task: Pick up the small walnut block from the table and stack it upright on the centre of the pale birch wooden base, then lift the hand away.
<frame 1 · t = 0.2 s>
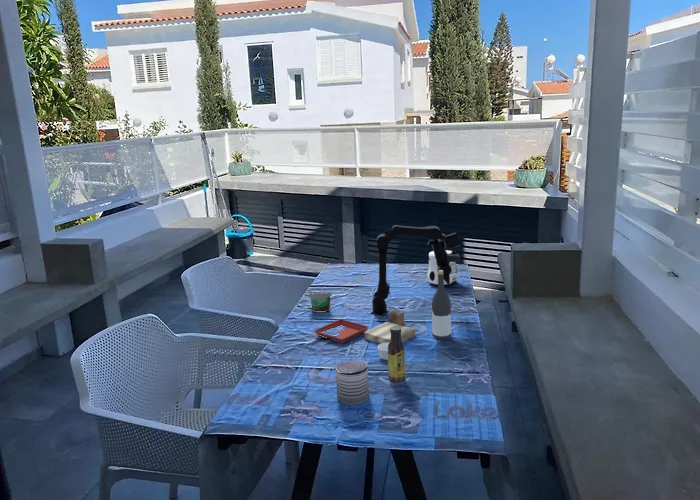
hand: (447, 281, 270), 15 cm above the table, tool pointing down, fingers open, 9 cm apart
walnut block: (396, 324, 259), on the table
can: (353, 397, 193), on the table
birch base: (389, 337, 244), on the table
wine bottle: (441, 336, 242), on the table
food container: (319, 311, 282), on the table
sauce bottle: (397, 379, 205), on the table
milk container: (442, 283, 318), on the table
plant saucer: (341, 335, 250), on the table
ramekin: (388, 356, 225), on the table
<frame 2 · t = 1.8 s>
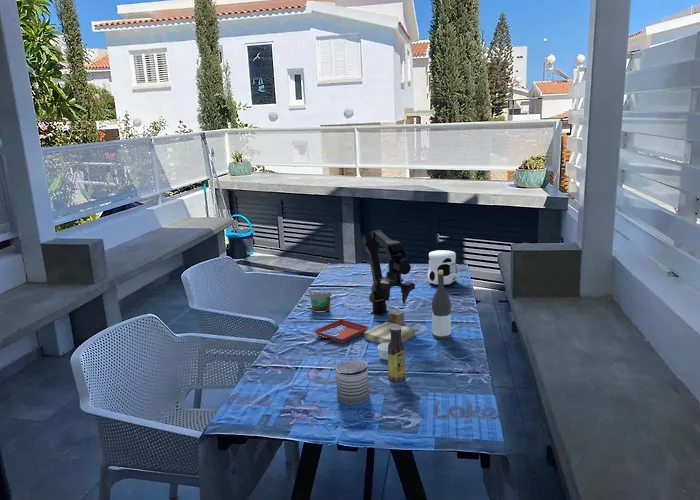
hand: (395, 301, 256), 11 cm above the table, tool pointing down, fingers open, 9 cm apart
nothing on the table moved.
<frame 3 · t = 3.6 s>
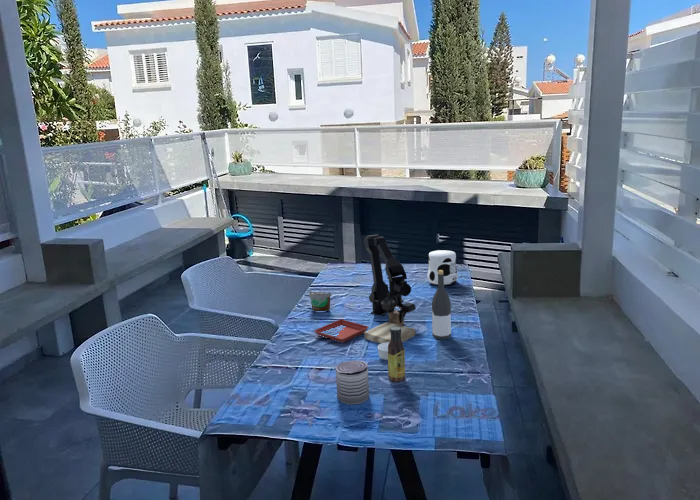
hand: (396, 322, 258), 1 cm above the table, tool pointing down, fingers closed on walnut block, 5 cm apart
walnut block: (396, 324, 259), on the table, touching gripper
everything else where it was.
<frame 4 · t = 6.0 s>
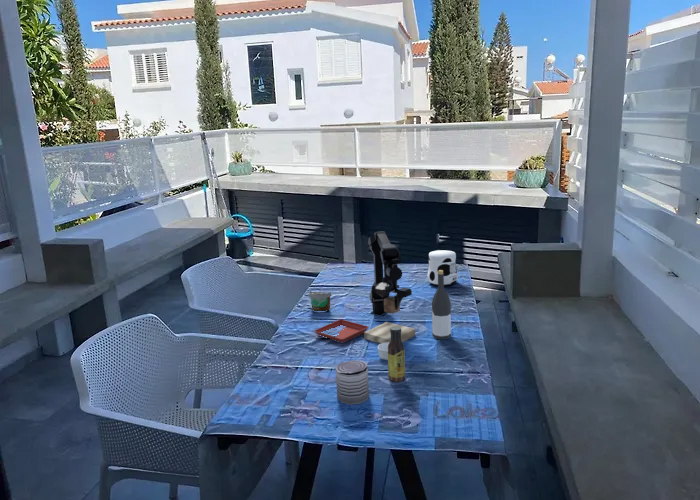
hand: (391, 308, 246), 12 cm above the table, tool pointing down, fingers closed on walnut block, 5 cm apart
walnut block: (392, 311, 246), point 10 cm above the table, touching gripper
everything else where it was.
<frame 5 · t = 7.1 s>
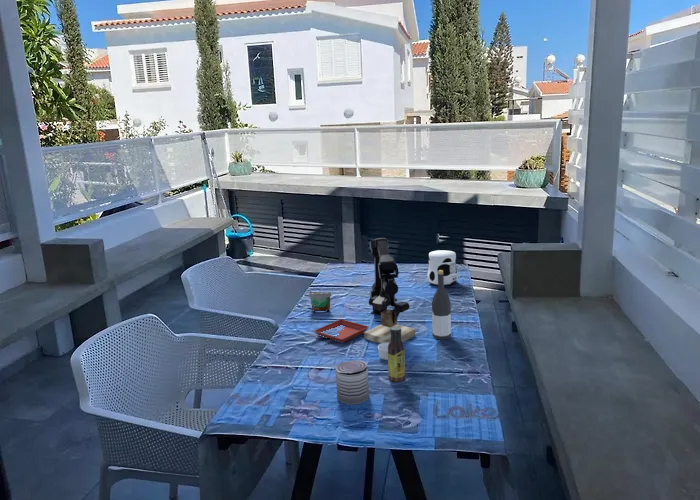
hand: (389, 322, 243), 7 cm above the table, tool pointing down, fingers closed on walnut block, 5 cm apart
walnut block: (389, 324, 243), point 6 cm above the table, touching gripper
everything else where it was.
when the fingers open (5 cm above the table, at t = 8.2 s): walnut block drops 1 cm, resting on birch base.
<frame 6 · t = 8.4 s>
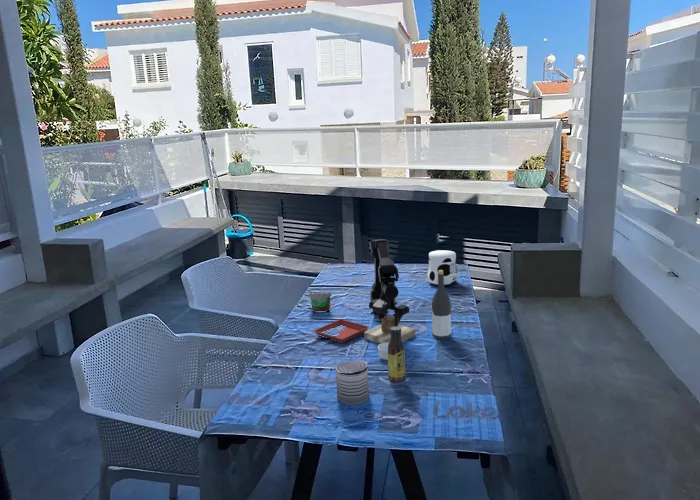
hand: (389, 325, 243), 5 cm above the table, tool pointing down, fingers open, 7 cm apart
walnut block: (389, 330, 243), point 3 cm above the table, touching birch base
everything else where it was.
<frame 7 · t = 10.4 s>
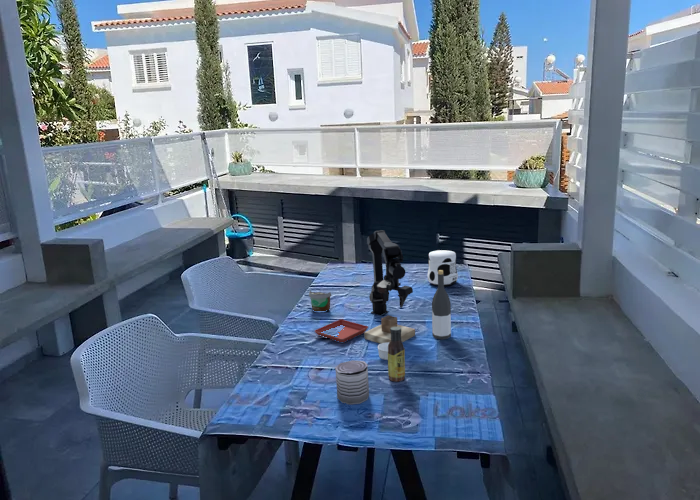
hand: (393, 305, 250), 11 cm above the table, tool pointing down, fingers open, 9 cm apart
nothing on the table moved.
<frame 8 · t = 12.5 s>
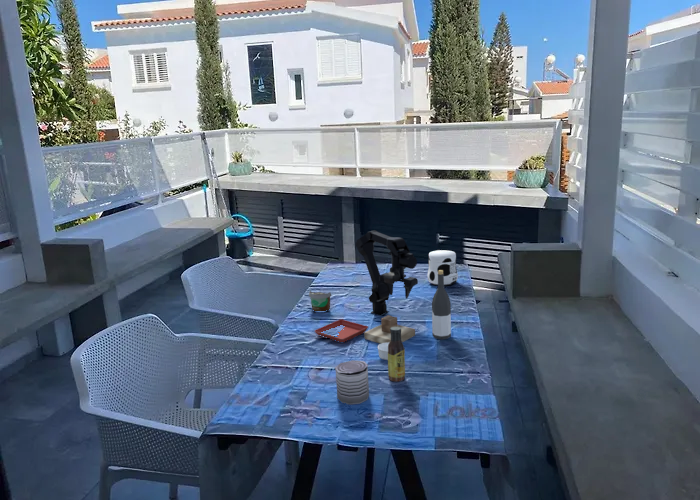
hand: (398, 296, 261), 12 cm above the table, tool pointing down, fingers open, 9 cm apart
nothing on the table moved.
at the end: walnut block inside the target area on the birch base (0.1 cm from its centre), point 3.0 cm above the birch base's base; walnut block tilted 0°; the gripper is holding nothing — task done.
